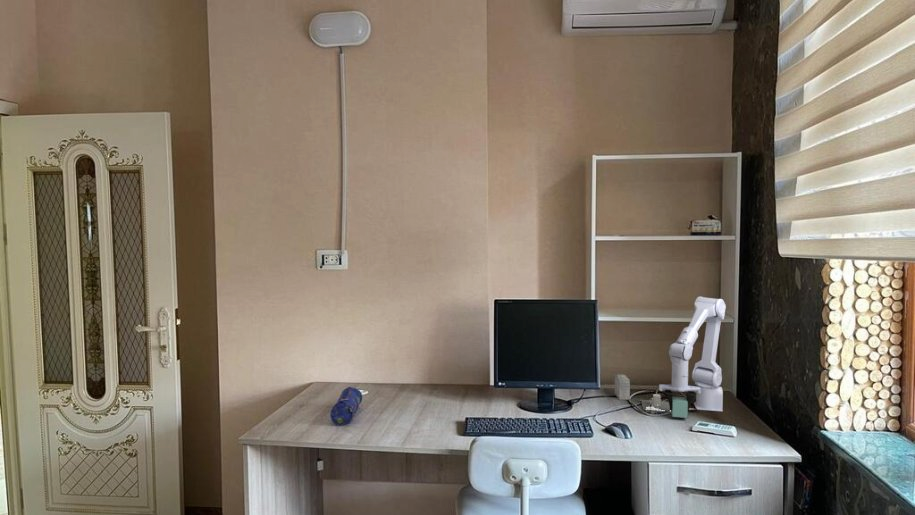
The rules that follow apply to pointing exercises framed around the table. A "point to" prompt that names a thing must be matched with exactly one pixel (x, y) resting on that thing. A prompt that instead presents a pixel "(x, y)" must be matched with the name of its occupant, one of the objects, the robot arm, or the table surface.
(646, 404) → the post board
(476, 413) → the table surface
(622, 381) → the medicine box
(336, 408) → the pencil case
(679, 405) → the seafoam green cube
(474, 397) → the table surface
